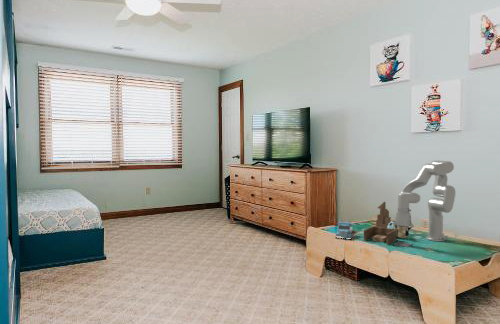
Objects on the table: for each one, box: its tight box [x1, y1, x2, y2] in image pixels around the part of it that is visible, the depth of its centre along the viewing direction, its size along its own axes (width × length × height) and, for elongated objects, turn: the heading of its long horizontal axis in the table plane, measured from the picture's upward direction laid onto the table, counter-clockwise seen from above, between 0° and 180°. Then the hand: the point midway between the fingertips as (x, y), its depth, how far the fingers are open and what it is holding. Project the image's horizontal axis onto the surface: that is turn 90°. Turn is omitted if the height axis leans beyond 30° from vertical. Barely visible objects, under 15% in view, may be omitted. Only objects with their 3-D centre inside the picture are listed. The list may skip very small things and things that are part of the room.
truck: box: [335, 216, 354, 239], centre depth 290 cm, size 12×29×15 cm, turn 162°
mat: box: [392, 241, 413, 248], centre depth 261 cm, size 10×10×1 cm
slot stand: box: [363, 225, 398, 246], centre depth 273 cm, size 18×17×8 cm
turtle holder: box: [387, 220, 398, 237], centre depth 282 cm, size 12×18×12 cm
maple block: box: [397, 226, 408, 239], centre depth 261 cm, size 5×5×8 cm
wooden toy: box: [375, 201, 393, 228], centre depth 300 cm, size 16×7×25 cm, turn 40°
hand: (402, 234), depth 261 cm, fingers closed on maple block, 5 cm apart
